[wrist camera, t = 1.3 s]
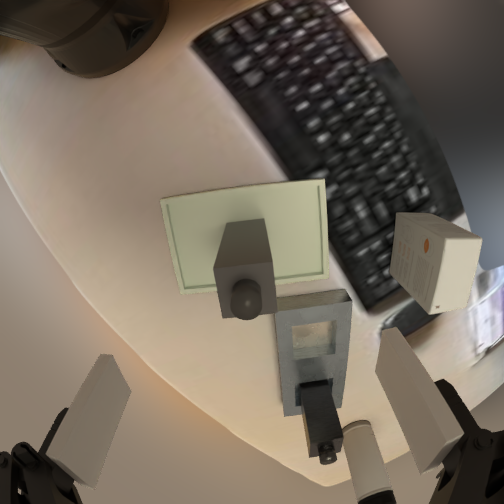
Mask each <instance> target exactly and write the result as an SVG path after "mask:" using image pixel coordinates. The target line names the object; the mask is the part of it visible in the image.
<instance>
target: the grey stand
mask: <svg viewBox="0 0 504 504" xmlns="http://www.w3.org/2000/svg"><path fill="white" fill-rule="evenodd" d="M277 309H278V313H274V315H275V325H276V336H277V346H278V357H279V368H280V379H281V390H282V402H283V411H284V417H285V416H293V415H301V414H302V417H303V423H304V429H305V435H306V441H307V447H308V453H309V458H310V457H316V456H319V458H320V463H321V464H323V465H327V464H331V463H334V462H335V461H336V460H337V456H336V453H338V452H340V451H341V447H342V443H343V439H344V436H343V432H342V428H341V425H340V421H339V418H338V414H337V411H336V408H341V406H342V399H343V392H344V385H345V378H346V370H347V361H348V351H349V341H350V329H351V316H352V299H351V298H350V296H349V295H348V293H347V291H346V290H345V289H341V290H334V291H327V292H320V293H312V294H305V295H297V296H289V297H281V298H277Z"/></svg>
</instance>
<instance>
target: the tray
mask: <svg viewBox="0 0 504 504" xmlns="http://www.w3.org/2000/svg"><path fill="white" fill-rule="evenodd" d="M160 204H161V210H162V215H163V220H164V225H165V230H166V234H167V239H168V244H169V248H170V253H171V257H172V261H173V266H174V270H175V274H176V278H177V282H178V286H179V290H180V294H181V295H183V294H194V293H205V292H216V291H217V287H216V282H215V277H214V272H213V266H214V263H215V260H216V256H217V253H218V250H219V246H220V243H221V240H222V236H223V233H224V230H225V226H226V223H229V222H237V221H245V220H253V219H262V218H264V219H265V224H266V229H267V234H268V239H269V244H270V249H271V254H272V260H273V267H274V278H275V285H280V284H288V283H296V282H304V281H312V280H319V279H327V278H329V259H328V228H327V208H326V192H325V179H323V178H317V179H305V180H294V181H283V182H274V183H265V184H256V185H248V186H240V187H232V188H224V189H217V190H210V191H203V192H197V193H190V194H184V195H178V196H172V197H166V198H162V199H161V200H160Z"/></svg>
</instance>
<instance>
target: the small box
mask: <svg viewBox="0 0 504 504" xmlns="http://www.w3.org/2000/svg"><path fill="white" fill-rule="evenodd" d="M481 244H482V238H481V237H479V236H477V235H475V234H473V233H471V232H469V231H467V230H465V229H463V228H461V227H459V226H457V225H455V224H453V223H451V222H449V221H446V220H444V219H442V218H440V217H438V216H435V215H433V214H431V213H396V221H395V231H394V241H393V249H392V257H391V264H390V271H389V273H390V274H391V275H392V276H393V277H394V278H395V279H396V280H397V281H398V282H399V283H400V285H401V286H402V287H403V288H404V289H405V290H406V291H407V292H408V293H409V294H410V295H411V296H412V297H413V298H414V299H415V300H416V301H417V302H418V303H419V304H420V305H421V307H422V308H423V309H424V310H425V311H426V312H427V313H428V314H435V313H441V312H447V311H452V310H457V309H462V308H466V305H467V302H468V299H469V295H470V292H471V288H472V284H473V280H474V276H475V272H476V268H477V264H478V259H479V255H480V249H481Z"/></svg>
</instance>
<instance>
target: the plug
mask: <svg viewBox="0 0 504 504" xmlns="http://www.w3.org/2000/svg"><path fill="white" fill-rule="evenodd" d="M213 272H214V277H215V282H216V287H217V292H218V297H219V302H220V307H221V312H222V317H223V318H234V317H237V318H239V319H242V320H251V319H254V318H256V317H257V316H258V315H263V314H272V313H278V309H277V298H276V288H275V278H274V267H273V260H272V254H271V249H270V244H269V239H268V234H267V229H266V224H265V219H264V218H262V219H253V220H245V221H237V222H229V223H226V226H225V230H224V233H223V236H222V240H221V243H220V246H219V250H218V253H217V256H216V260H215V263H214V266H213Z"/></svg>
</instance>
